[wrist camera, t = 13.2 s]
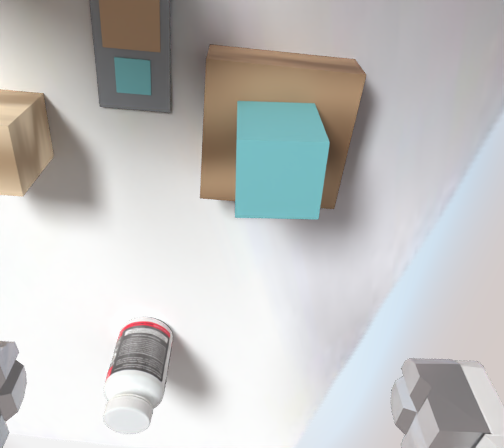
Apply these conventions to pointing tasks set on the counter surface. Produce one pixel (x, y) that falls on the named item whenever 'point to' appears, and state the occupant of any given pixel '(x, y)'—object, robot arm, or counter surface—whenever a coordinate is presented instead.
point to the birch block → (22, 140)
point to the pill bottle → (137, 374)
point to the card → (132, 53)
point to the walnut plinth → (275, 90)
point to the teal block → (279, 160)
